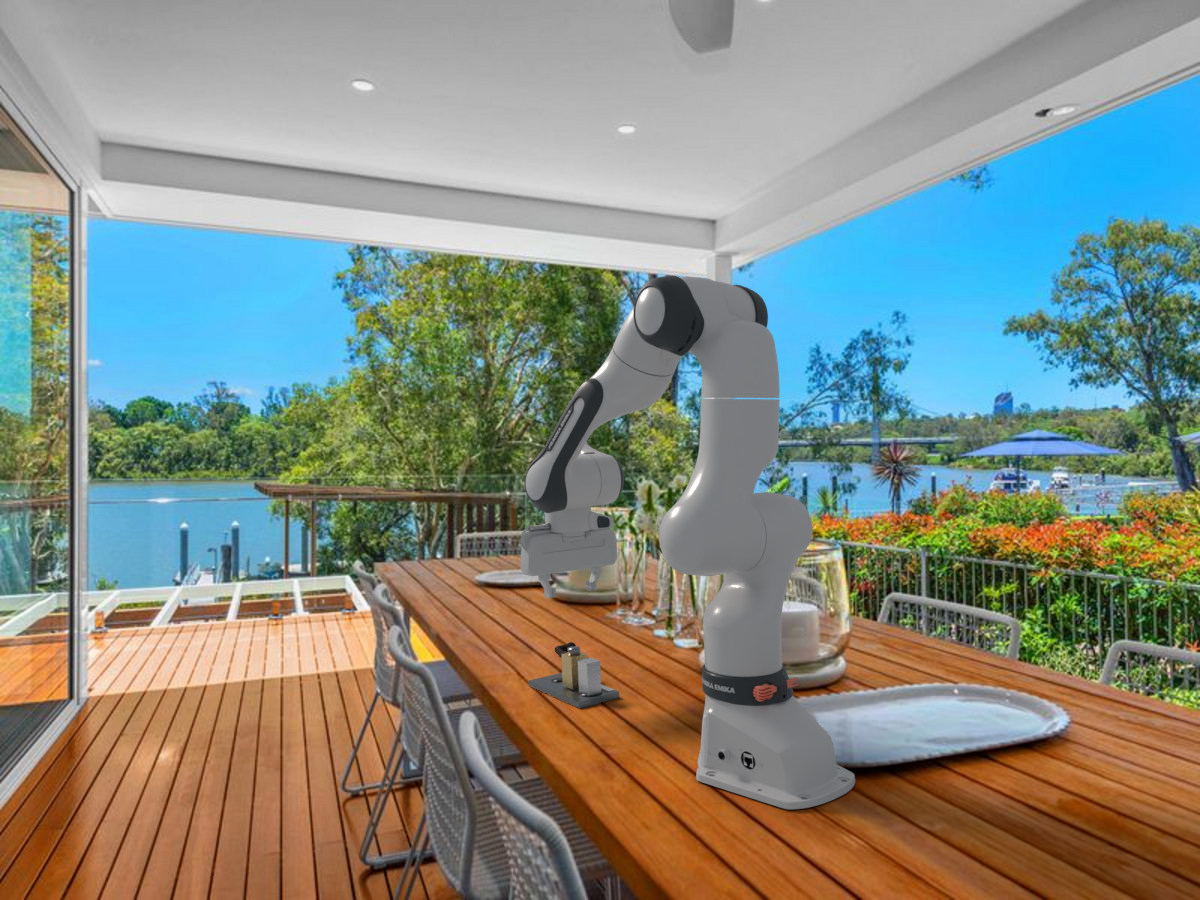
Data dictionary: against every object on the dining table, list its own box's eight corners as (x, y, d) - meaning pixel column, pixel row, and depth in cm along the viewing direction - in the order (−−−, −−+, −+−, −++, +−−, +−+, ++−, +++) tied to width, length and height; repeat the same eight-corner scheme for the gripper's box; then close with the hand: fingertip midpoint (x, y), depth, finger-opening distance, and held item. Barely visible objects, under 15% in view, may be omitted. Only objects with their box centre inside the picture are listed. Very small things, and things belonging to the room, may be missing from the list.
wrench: (576, 658, 184) (611, 684, 155) (555, 661, 183) (586, 689, 154) (573, 635, 184) (608, 657, 155) (552, 639, 183) (583, 662, 154)
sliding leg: (588, 685, 150) (586, 647, 150) (572, 689, 148) (571, 651, 148) (577, 681, 153) (576, 644, 153) (562, 685, 151) (561, 647, 151)
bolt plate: (619, 697, 147) (617, 659, 147) (579, 708, 142) (577, 668, 142) (566, 677, 162) (565, 642, 162) (528, 686, 156) (527, 650, 156)
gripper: (529, 527, 142) (532, 604, 142) (620, 517, 154) (623, 588, 154) (512, 525, 147) (515, 599, 147) (601, 516, 159) (604, 584, 159)
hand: (571, 593), depth 151 cm, fingers open, 8 cm apart
